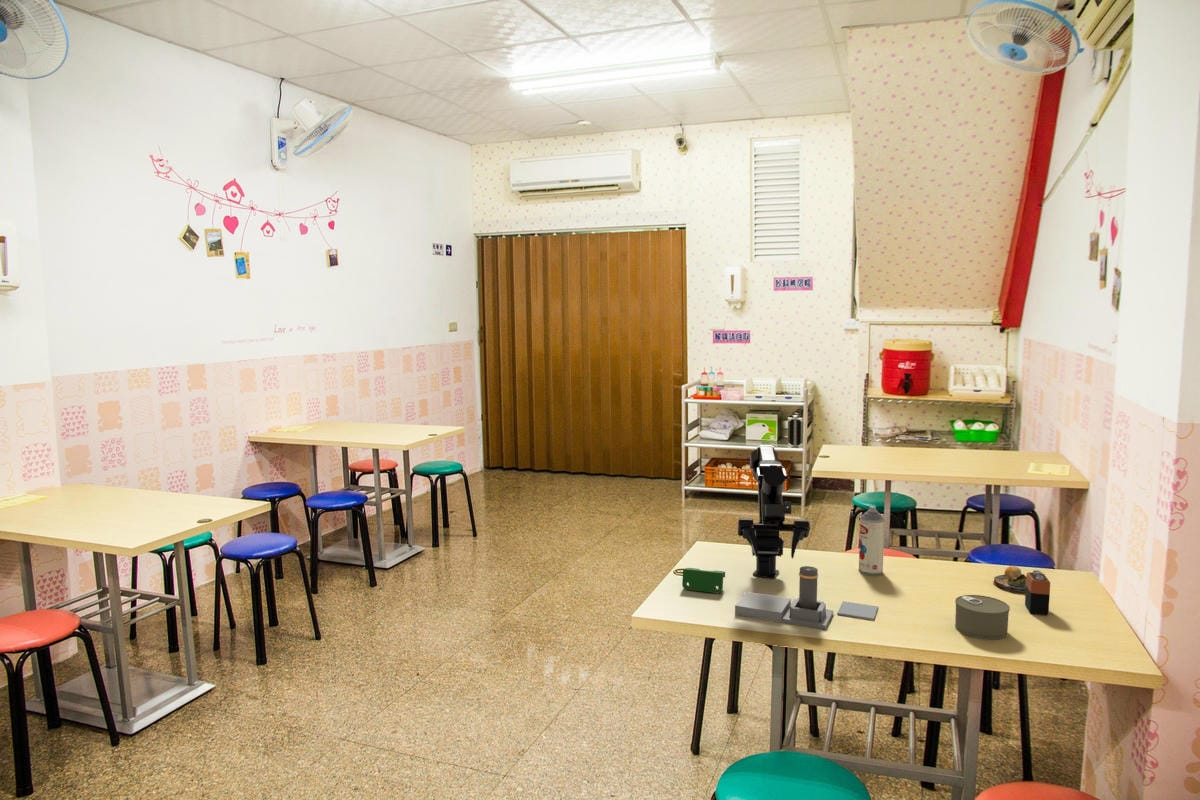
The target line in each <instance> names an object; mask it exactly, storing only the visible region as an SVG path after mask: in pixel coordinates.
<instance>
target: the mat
mask: <svg viewBox="0 0 1200 800" xmlns="http://www.w3.org/2000/svg"><path fill="white" fill-rule="evenodd" d="M878 610H879V606H877V605H870V604H866V603H858V602H850V601H842V602H841V605H840V607H839V609H838V611H837V613H836V614H837V616H843V617H850V618H856V619H863V620H867V621H868V620H871V621H875V618H876V615H877V612H878Z"/></svg>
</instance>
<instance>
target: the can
mask: <svg viewBox="0 0 1200 800" xmlns="http://www.w3.org/2000/svg"><path fill="white" fill-rule="evenodd" d="M954 602H955V616H954V617H955V622H954V626H955V627H954V628H955V630H956V631H958V632H959V633H960V634H961V635H964V636H967V637H970V638H973V639H978V640H983V641H998V640H1002V639H1005V638H1007V636H1008V629H1009V615H1010V613H1009V612H1010V610H1011V609H1010V608H1011V607H1010V605H1009V604H1008V603H1007V602H1004V601H1003V600H1001V599H998V598H995V597H991V596H986V595H978V594H965V595H961V596H958V597H956V598H955V600H954Z"/></svg>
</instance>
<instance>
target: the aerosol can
mask: <svg viewBox="0 0 1200 800" xmlns="http://www.w3.org/2000/svg"><path fill="white" fill-rule="evenodd" d="M884 541H885V516H883V515H882V514H881V513H880V512H879V511H878V510H877V507H876V506H875V505H869V509H868V510H867V511H865V512H864V513H863V514H861V515H860V519H859V549H858V554H859V555H858V572H859V573H860V574H862V575H867V576H872V577H873V576H881V575H883V574H884V573H883V572H884V547H885V544H884Z"/></svg>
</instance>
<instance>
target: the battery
mask: <svg viewBox="0 0 1200 800" xmlns="http://www.w3.org/2000/svg"><path fill="white" fill-rule="evenodd" d="M1025 576H1026V593H1025V594H1024V595H1025V596H1024V605H1025V608H1026V609H1027V610H1028V612H1029V614H1031V615H1039V616H1049V615H1050V614H1049V612H1050V596H1051V595H1050V594H1051V592H1050V591H1051V590H1050V589H1051V581H1050V580H1049V578H1048V577H1047V576H1046V575H1045V573H1043V572H1042V571H1041V570H1038V569H1037V570H1036V569H1034V570H1032V572H1030V571H1029V572H1028V571H1027V573H1026V574H1025Z"/></svg>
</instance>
